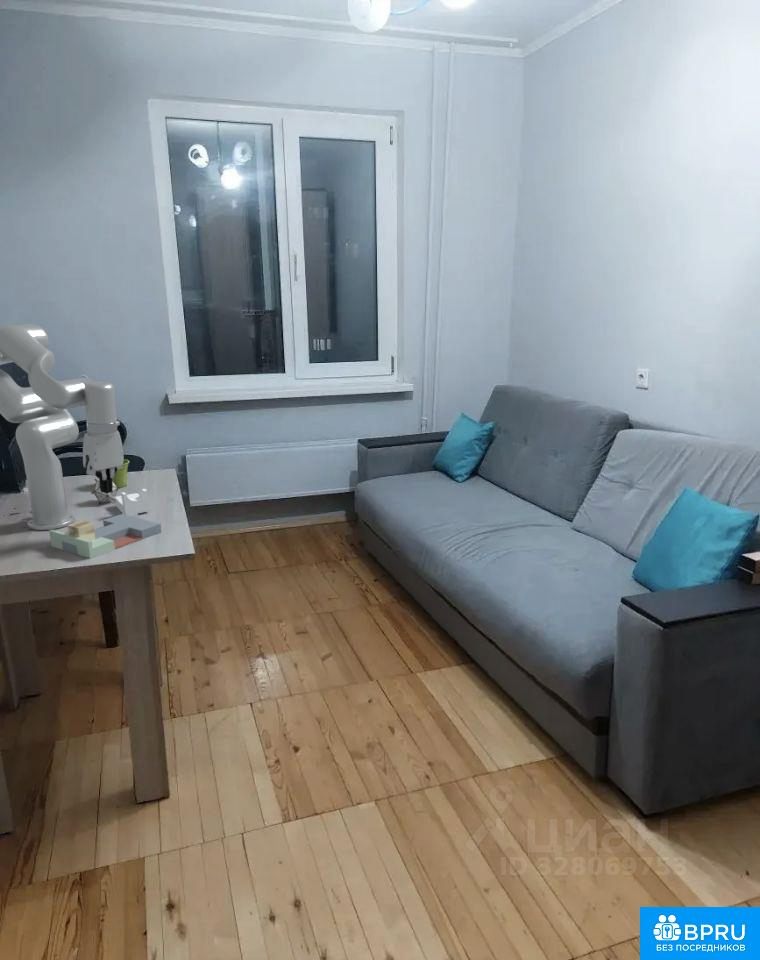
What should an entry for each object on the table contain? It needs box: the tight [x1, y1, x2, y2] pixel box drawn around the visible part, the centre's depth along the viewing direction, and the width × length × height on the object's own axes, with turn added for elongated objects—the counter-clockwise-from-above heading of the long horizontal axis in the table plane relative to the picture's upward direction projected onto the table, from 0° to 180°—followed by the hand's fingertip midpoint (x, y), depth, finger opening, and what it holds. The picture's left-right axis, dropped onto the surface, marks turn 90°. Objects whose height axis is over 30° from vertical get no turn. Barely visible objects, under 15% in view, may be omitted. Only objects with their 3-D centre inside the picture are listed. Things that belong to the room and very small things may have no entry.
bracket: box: [114, 488, 150, 517], centre depth 215 cm, size 13×7×8 cm, turn 34°
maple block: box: [67, 520, 95, 541], centre depth 182 cm, size 4×4×4 cm
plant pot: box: [112, 459, 130, 488], centre depth 240 cm, size 9×9×9 cm
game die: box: [90, 478, 121, 505], centre depth 222 cm, size 9×8×10 cm
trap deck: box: [48, 513, 162, 559], centre depth 190 cm, size 17×23×4 cm
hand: (106, 491), depth 192 cm, fingers closed
